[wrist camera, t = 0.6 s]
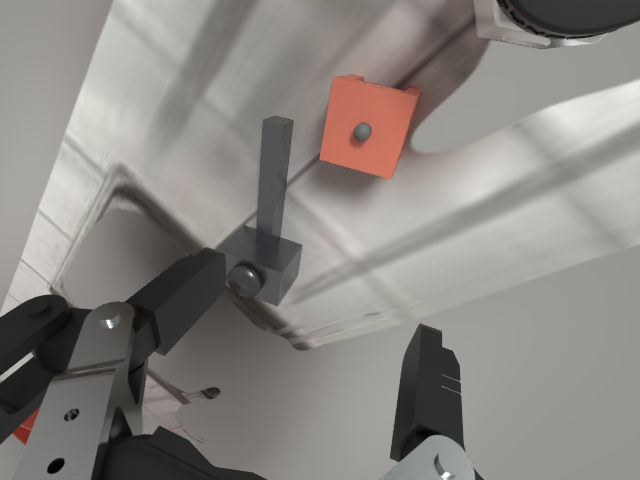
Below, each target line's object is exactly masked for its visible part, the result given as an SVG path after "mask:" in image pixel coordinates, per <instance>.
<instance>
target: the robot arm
mask: <svg viewBox="0 0 640 480" xmlns="http://www.w3.org/2000/svg"><path fill="white" fill-rule="evenodd" d="M225 286H226V257H225V254H224V253H222V252H219V251H216V250H213V249H211V248H204V249H203V250H201V251H200V252H199V253H198V254H196V255H195V256H192V255H189V256H187V257H185V258H182V259H180V260H178V261H176V262H175V263H174V264H172V265H171V266H170V267H169V268H168V269H167V270H165V271H163V272H162V273H161V274H160V275H159V277H158V276H157V277H156V278H155V279H153V280H152V281H151V282H149V283H148V284H147V285H146V286H144V287H143V288H142V289H140V290H139V291H138V292H137V293H135V294H134V295H133V296H132V297H130V298H129V299H128V300H127V301H125V302H119V301H117V302H109V303H106V304H103V305H101V306H99V307H97V308H95V309H94V310H91V309H79V308H69V307H68V305H67V303H66V300H65V299H64V298H63V297H61V296H58V295H43V296H38V297H35V298H32V299H30V300H28V301H26V302H24V303H22V304H20V305H19V306H17V307H16V308H14V309H13V310H11V311H10V312H8V313H6V314H5V315H3V316H2V317H0V375H2V374H3V373H4V372H6V371H7V370H8V369H9V368H11V367H12V366H13V365H15V364H16V363H17V362H18V361H20V360H21V359H22V358H24V357H25V356H26V355H27V354H29V353H30V352H31V353H32V355H33V356H34V357H33V358H31V359H30V360H29V361H28V362H26V363H25V364H24V365H23V366H21V367H20V368H19V369H18V370H16V371H15V372H14V373H13V374H11V375H10V376H9V377H7V378H6V379H5V380H4V381H2V382H1V383H0V444H1V443H2V442H3V441H4V440H5V439H6V438H7V437H9V436H10V435H11V434H12V433H13V432H14V431H15V430H16V429H17V428H18V427H19V426H20V425H21V424H22V423H23V422H25V421H26V420H27V419H28V418H29V417H30V416H31V415H32V414H33V413H34V412H35V411H36V410H37V409H38V408H39V407H40V406H41V407H40V409H39V412H38V415H37V417H36V420H35V422H34V425H33V427H32V430H31V432H30V435H29V437H28V440H27V443H26V445H25V448H24V450H23V453H22V455H21V458H20V460H19V463H18V466H17V468H16V471H15V473H14V476H13V479H12V480H267V479H265V478H263V477H261V476H259V475H257V474H254V473H252V472H246V471H238V470H232V469H225V468H218V467H215V466H213V465H212V464H210V462H209V461H208V460H207V459H206V458H205V457H204V456H203V455H202V454H201V453H200V452H199V451H198V450H197V449H196V448H195V447H194V446H193V445H192V443H191V442H190V441H189V440H187V439H185V438H183V437H181V436H179V435H177V434H175V433H173V432H171V431H169V430H167V429H165V428H163V427H161V426H159V427H158V428H157V429H156V431H155V432H154V433H153V435H151V434H142V403H143V396H144V389H145V381H146V374H147V367H148V357H149V356H150V355H151V354H152V353H153V352H154V351H155V352H157V353H159V354H162V355H164V356H165V355H166V354H167V353H168V351H170V349H171V348H172V347H173V346H174V345H175V344H176V343H177V342H178V341H179V340H180V338H181V337H182V336H183V335H184V334H185V333H186V332H187V331H188V330H189V329H190V328H191V327H192V325H193V324H194V323H195V322H196V321H197V320H198V319H199V318H200V317H201V316H202V315H203V314H204V312H205V311H206V310H207V309H208V308H209V307H210V306H211V305H212V304H213V303H214V302H215V301H216V299H217V298H218V297H219V296H220V295H221V294H222V292H223V290H224V288H225ZM460 394H461V384H460V365H459V363H458V361H457V359H456V357H455V355H454V352H453V351H452V350H449V349H446V348H443V347H442V332H441V331H440V330H437V329H435V328H432V327H429V326H426V325H423V324H419V326H418V327H417V329H416V332H415V333H414V336H413V338H412V340H411V342H410V344H409V346H408V348H407V350H406V352H405V355H404V359H403V363H402V370H401V378H400V385H399V393H398V401H397V408H396V415H395V423H394V430H393V438H392V445H391V454H390V458H391V459H393V460H395V461H397V462H399V463H398V464H397V465H396V466H394V467H393V468H392V469H391V470H390V471H389V472H388V473H387V474H385V475H384V476H383V477H382V478H380V479H379V480H484V479H483V478H482V477H481V476H480V475H479V474H478V473H477V472H476V470H475V469H474V467H473V466H472V463H471V461H470V459H469V457H468V455H467V454H466V451H465V448H464V441H463V422H462V404H461V403H462V402H461V395H460Z"/></svg>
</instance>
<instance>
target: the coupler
mask: <svg viewBox="0 0 640 480" xmlns="http://www.w3.org/2000/svg"><path fill="white" fill-rule="evenodd" d="M292 127H293V120H289V119H286V118H282V117H278V116H273V117H270V118H267V119H264V120H263V129H262V146H261V163H260V180H259V197H258V214H257V229H254V228H251V227H248V226H245V225H244V226H243V227H242V228H241V229H240V230H238V231H237V232H236V233H235V234H234V235H232V236H231V237H230V238H229V239H228V240H226V241H225V242H224V243H223V244H222V245H221V246H219V247H218V248H217V249H216V251H219V252H222V253H224V254H225V257H226V286H227V287H229V288H231V289H232V290H233V291H234V292H235V293H237V294H238V295H240V296H242V297H245V298H252V297H255V298H258V299H260V300H263V301H265V302H268V303H271V304H273V305H276V306H278V305H279V303H280V302H281V300H282V299H283V297H284V296H285V294H286V293H287V291H288V290H289V288H290V287H291V285H292V284H293V282H294V281H295V279H296V278H297V276H298V270H299V264H300V258H301V252H302V246H303V245H301V244H298V243H295V242H292V241H289V240H286V239H283V238H280V235H281V226H282V217H283V208H284V199H285V190H286V181H287V172H288V163H289V154H290V145H291V136H292Z"/></svg>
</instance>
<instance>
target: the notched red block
mask: <svg viewBox="0 0 640 480" xmlns="http://www.w3.org/2000/svg"><path fill="white" fill-rule="evenodd" d="M363 79H364V77H362V76H358V75H347V76H341V77H334V78H333V81H332V87H331V93H330V99H329V105H328V111H327V117H326V123H325V129H324V135H323V141H322V146H321V152H320V158H319V160H323V161H327V162H330V163H334V164H337V165H341V166H344V167H348V168H352V169H355V170H359V171H362V172H366V173H369V174H373V175H377V176H380V177H384V178H387V179H392V176H393V174H394V171H395V169H396V167H397V164H398V162H399V159H400V156H401V153H402V150H403V147H404V144H405V140H406V137H407V134H408V131H409V128H410V125H411V121H412V118H413V115H414V112H415V109H416V106H417V103H418V99H419V96H420V93H421V89H417V88H412V87H409V88H408V89H407V90H406V91H404V90H399V89H395V88H390V87H386V86H381V85H377V84H372V83H368V82H363Z"/></svg>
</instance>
